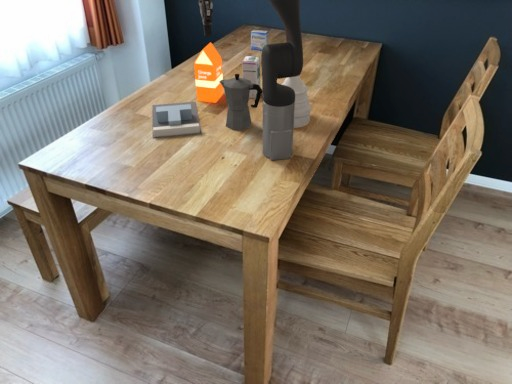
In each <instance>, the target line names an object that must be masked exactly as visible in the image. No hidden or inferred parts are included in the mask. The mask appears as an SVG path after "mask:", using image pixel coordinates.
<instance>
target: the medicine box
mask: <svg viewBox="0 0 512 384" xmlns="http://www.w3.org/2000/svg"><path fill="white" fill-rule="evenodd" d="M269 33H270V31H269V30H264V29H263V30H261V29H260V30H259V29H253V30H251V31H250V50H252V51H261V52H262V49H263V47H264V46H265V45H268V44H270V43H269V42H270V41H269V38H270V34H269Z"/></svg>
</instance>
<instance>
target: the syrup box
mask: <svg viewBox="0 0 512 384" xmlns="http://www.w3.org/2000/svg"><path fill="white" fill-rule="evenodd" d="M241 69H242V70H241V71H242V78H245V79H247V80H250V81H251V83H254V84H258V85H259V86H260V87H261V57H260V56H256V55H255V56H254V55H246V56H245V57H244V58H243V59H242V60H241ZM256 94H257V90H250V93H249V99H256Z"/></svg>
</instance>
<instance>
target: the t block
mask: <svg viewBox="0 0 512 384" xmlns="http://www.w3.org/2000/svg"><path fill="white" fill-rule="evenodd" d="M156 115H157V122H168V121H169V126H173V125H181V120H191V119H192V111H191V104H185V105H173V106H161V107H156Z"/></svg>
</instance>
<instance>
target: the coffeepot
mask: <svg viewBox="0 0 512 384" xmlns="http://www.w3.org/2000/svg"><path fill="white" fill-rule="evenodd" d="M219 82H220V83H221V84H222V86H223V92H224V94H225V99H226V104H227V111H226V112H227V114H226V121H225V122H226V123H225V127H226V128H228V129H230V130H233V131H243V130H247V129H249V128H250V127H252V117H251V113H250V107H251V108H252V109H257V108H258V105H259V103H260V100H261V97H262V96H263V90H262V87H261V85H260V86H259V85H258V84H254V83H251V81H250V80H247V79H245V78H243V77H240V73H234V77H232V78H228V79H224V78H223V80H221V81H219ZM250 90H257V94H256V98H254V103H253V104H250V107H249V100H250V98H249V93H250Z"/></svg>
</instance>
